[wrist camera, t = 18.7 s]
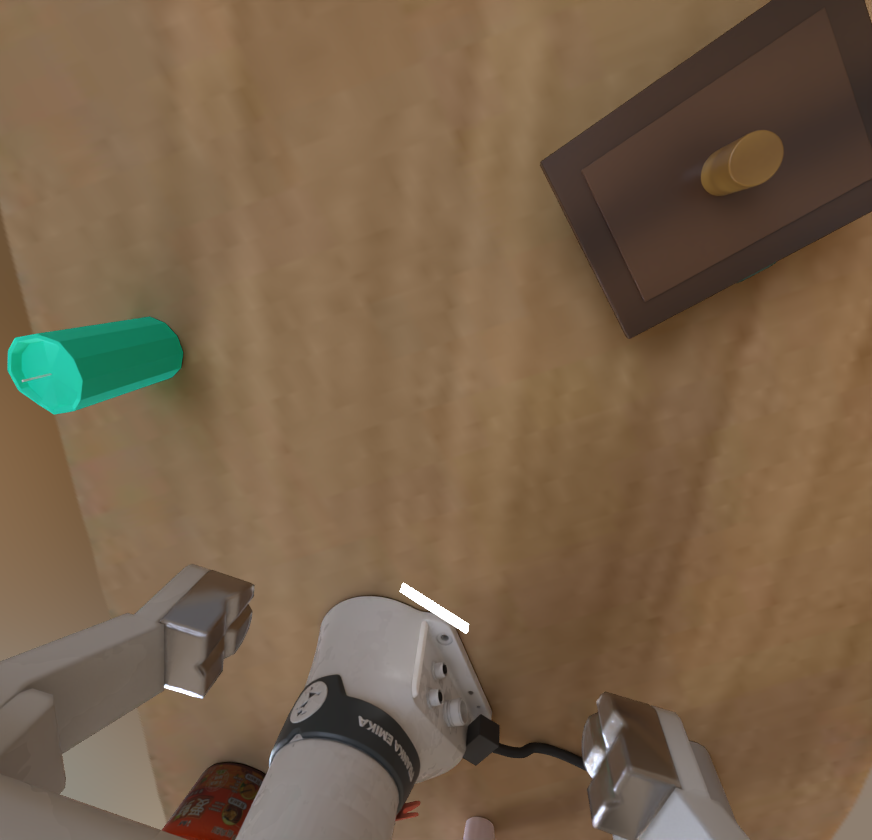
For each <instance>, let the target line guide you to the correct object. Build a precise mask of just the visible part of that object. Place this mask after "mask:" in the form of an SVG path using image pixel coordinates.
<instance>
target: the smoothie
mask: <svg viewBox="0 0 872 840" xmlns="http://www.w3.org/2000/svg"><path fill="white" fill-rule="evenodd" d="M463 840H495V834H494V826H493V824H492V823H491V822H490V821H489V820H487V819H485V818H482V817H471V818H469V819H468V820H467V821H466V826H465V831H464V837H463Z"/></svg>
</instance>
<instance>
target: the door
mask: <svg viewBox="0 0 872 840" xmlns="http://www.w3.org/2000/svg"><path fill="white" fill-rule="evenodd" d="M540 166H541V168H542V170H543V172H544V174H545V176H546V178H547V180H548V182H549V184H550V186H551V188H552V190H553V192H554V194H555V196H556V198H557V200H558V202H559V204H560V206H561V208H562V210H563V212H564V214H565V216H566V218H567V220H568V222H569V224H570V226H571V228H572V230H573V232H574V234H575V236H576V238H577V240H578V242H579V244H580V246H581V248H582V250H583V252H584V254H585V256H586V258H587V260H588V262H589V264H590V266H591V268H592V270H593V272H594V274H595V276H596V278H597V280H598V282H599V284H600V286H601V288H602V290H603V292H604V294H605V296H606V298H607V300H608V302H609V304H610V306H611V308H612V310H613V312H614V314H615V316H616V318H617V320H618V322H619V324H620V326H621V328H622V330H623V332H624V334H625V336H626V337H627V338H629V339H630V338H632V337H634V336H636V335H638V334H640V333H642V332H644V331H646V330H648V329H649V328H651V327H653V326H655V325H657V324H659V323H661V322H663V321H665V320H667V319H668V318H670V317H672V316H674V315H676V314H678V313H680V312H682V311H684V310H686V309H687V308H689V307H691V306H693V305H695V304H697V303H699V302H701V301H703V300H705V299H706V298H708V297H710V296H712V295H714V294H716V293H718V292H720V291H722V290H724V289H725V288H727V287H729V286H731V285H733V284H735V283H737V282H739V281H741V280H743V279H744V278H746V277H748V276H750V275H752V274H754V273H756V272H758V271H760V270H762V269H763V268H765V267H767V266H769V265H771V264H773V263H775V262H777V261H779V260H781V259H782V258H784V257H786V256H788V255H790V254H792V253H794V252H796V251H798V250H800V249H801V248H803V247H805V246H807V245H809V244H811V243H813V242H815V241H817V240H819V239H820V238H822V237H824V236H826V235H828V234H830V233H832V232H834V231H836V230H838V229H839V228H841V227H843V226H845V225H847V224H849V223H851V222H853V221H855V220H856V219H858V218H860V217H862V216H864V215H866V214H868V213H870V212H872V23H871V20H870V17H869V13H868V10H867V7H866V4H865V0H772V1H770V2H769V3H767V4H766V5H764V6H763V7H762V8H760V9H759V10H757V11H756V12H754V13H753V14H751V15H750V16H749V17H747V18H746V19H744V20H743V21H741V22H740V23H739V24H737V25H736V26H734V27H733V28H731V29H730V30H729V31H727V32H726V33H724V34H723V35H721V36H720V37H719V38H717V39H716V40H714V41H713V42H711V43H710V44H708V45H707V46H706V47H704V48H703V49H701V50H700V51H698V52H697V53H696V54H694V55H693V56H691V57H690V58H688V59H687V60H686V61H684V62H683V63H681V64H680V65H678V66H677V67H676V68H674V69H673V70H671V71H670V72H668V73H667V74H666V75H664V76H663V77H661V78H660V79H658V80H657V81H655V82H654V83H653V84H651V85H650V86H648V87H647V88H645V89H644V90H643V91H641V92H640V93H638V94H637V95H635V96H634V97H633V98H631V99H630V100H628V101H627V102H625V103H624V104H623V105H621V106H620V107H618V108H617V109H615V110H614V111H612V112H611V113H610V114H608V115H607V116H605V117H604V118H602V119H601V120H600V121H598V122H597V123H595V124H594V125H592V126H591V127H590V128H588V129H587V130H585V131H584V132H582V133H581V134H580V135H578V136H577V137H575V138H574V139H572V140H571V141H569V142H568V143H567V144H565V145H564V146H562V147H561V148H559V149H558V150H557V151H555V152H554V153H552V154H551V155H549V156H548V157H547V158H545V159H544V160H542V161H541V163H540Z"/></svg>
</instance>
